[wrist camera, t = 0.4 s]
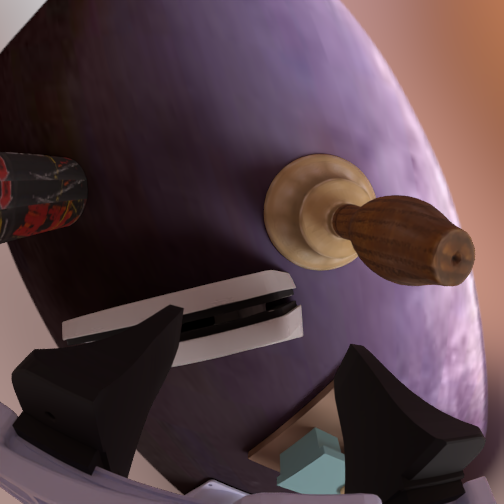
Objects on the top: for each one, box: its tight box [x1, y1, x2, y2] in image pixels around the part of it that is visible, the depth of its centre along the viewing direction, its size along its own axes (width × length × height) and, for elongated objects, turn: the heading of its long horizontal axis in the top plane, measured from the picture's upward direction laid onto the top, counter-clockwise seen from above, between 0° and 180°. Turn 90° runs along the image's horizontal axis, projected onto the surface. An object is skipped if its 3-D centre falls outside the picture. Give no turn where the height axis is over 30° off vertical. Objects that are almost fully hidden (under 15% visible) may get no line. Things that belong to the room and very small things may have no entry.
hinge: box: [62, 270, 303, 367], centre depth 19 cm, size 17×5×10 cm, turn 106°
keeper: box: [277, 427, 345, 494], centre depth 23 cm, size 6×12×4 cm, turn 52°
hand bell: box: [264, 154, 475, 286], centre depth 13 cm, size 8×8×16 cm
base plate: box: [248, 380, 344, 472], centre depth 25 cm, size 15×22×1 cm
